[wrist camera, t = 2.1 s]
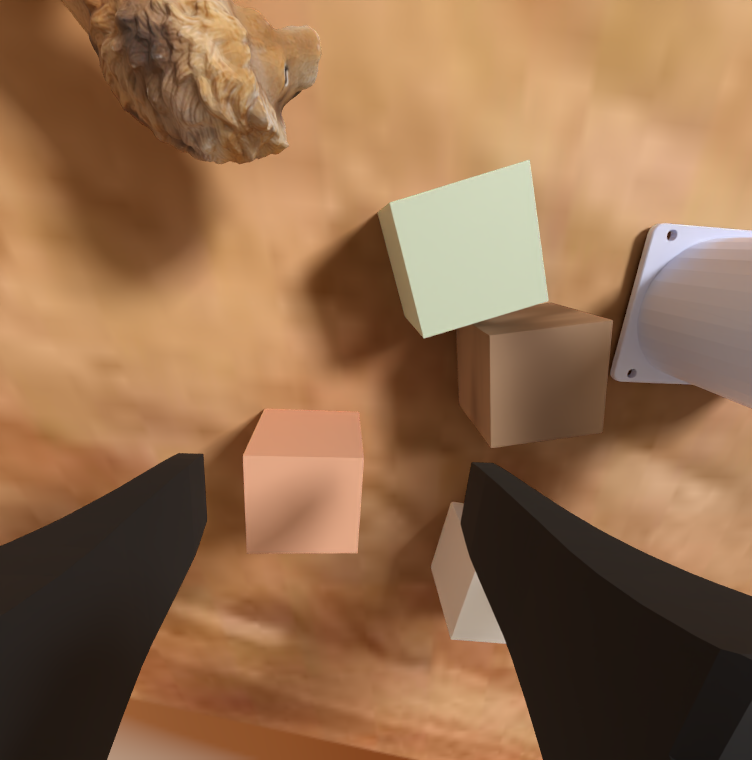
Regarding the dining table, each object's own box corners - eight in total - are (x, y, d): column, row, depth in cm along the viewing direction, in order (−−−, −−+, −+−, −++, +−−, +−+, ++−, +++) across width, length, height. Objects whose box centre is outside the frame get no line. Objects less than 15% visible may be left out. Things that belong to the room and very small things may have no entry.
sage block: (481, 180, 18) (529, 159, 14) (499, 287, 20) (548, 300, 15) (377, 212, 18) (389, 202, 14) (404, 315, 20) (423, 338, 15)
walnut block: (550, 302, 21) (612, 320, 16) (546, 392, 22) (602, 432, 17) (455, 314, 20) (489, 335, 16) (458, 404, 22) (491, 448, 17)
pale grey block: (527, 510, 25) (571, 573, 20) (502, 573, 26) (538, 646, 22) (450, 500, 24) (477, 563, 19) (430, 566, 26) (450, 639, 21)
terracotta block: (359, 411, 22) (363, 458, 17) (354, 490, 23) (357, 553, 18) (264, 408, 21) (242, 455, 16) (266, 489, 23) (246, 553, 18)
